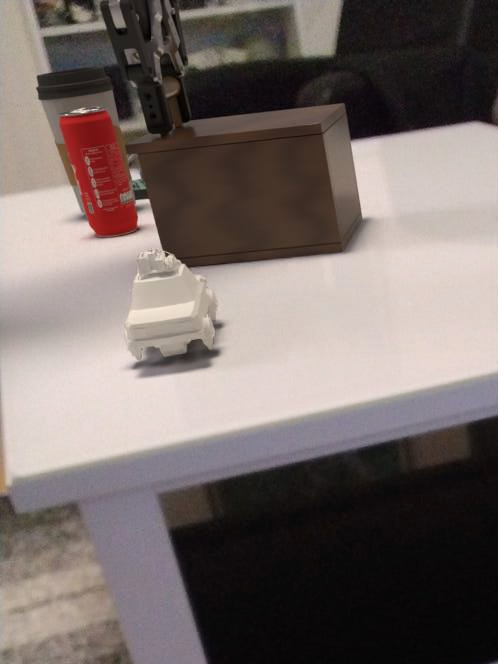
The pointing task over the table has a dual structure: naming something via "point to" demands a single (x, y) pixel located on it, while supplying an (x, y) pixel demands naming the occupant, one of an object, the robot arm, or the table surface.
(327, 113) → the lid
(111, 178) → the beverage can
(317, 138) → the chest
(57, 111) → the coffee cup
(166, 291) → the toy car
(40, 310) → the table surface
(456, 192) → the table surface
